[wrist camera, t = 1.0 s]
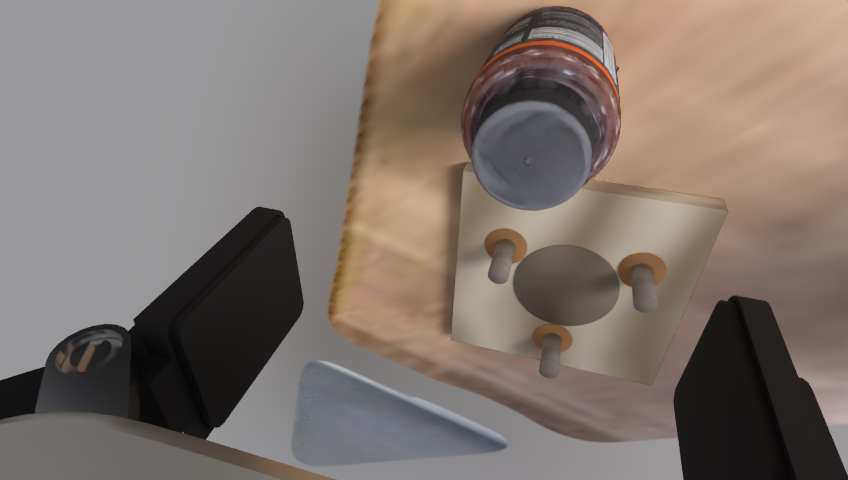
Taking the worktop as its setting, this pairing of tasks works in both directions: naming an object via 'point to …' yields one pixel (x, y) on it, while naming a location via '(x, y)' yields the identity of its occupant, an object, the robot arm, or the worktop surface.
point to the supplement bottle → (543, 109)
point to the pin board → (581, 275)
